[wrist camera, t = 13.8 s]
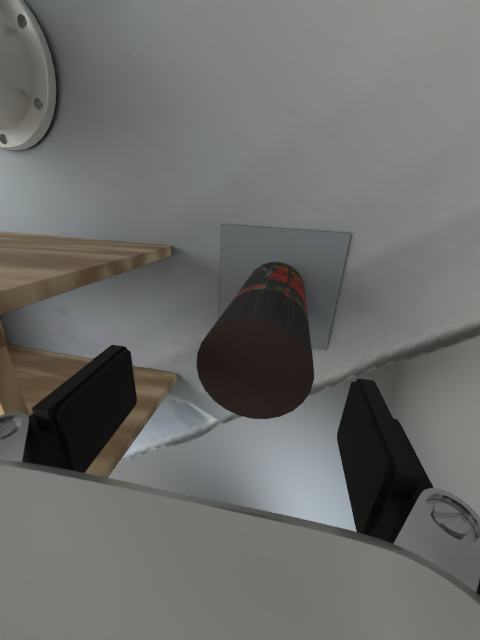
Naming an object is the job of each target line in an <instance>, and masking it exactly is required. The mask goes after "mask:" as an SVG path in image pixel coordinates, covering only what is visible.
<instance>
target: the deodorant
mask: <svg viewBox="0 0 480 640" xmlns="http://www.w3.org/2000/svg"><path fill="white" fill-rule="evenodd" d="M197 370H198V375H199V379H200V381H201V383H202V385H203V387H204V389H205V391H206V392H207V393H208V394H209V395H210V396H211V398H212V399H213V400H214V401H215V402H217V403H218V404H219V405H221V406H222V407H223V408H225V409H226V410H229V411H231V412H233V413H235V414H237V415H240V416H244V417H248V418H253V419H268V418H274V417H279V416H282V415H284V414H287V413H289V412H291V411H293V410H294V409H295V408H297V407H298V406H299V405H300V404H301V403H303V401H304V400H305V399H306V397H307V396H308V394H309V393H310V391H311V387H312V384H313V380H314V368H313V357H312V349H311V340H310V331H309V322H308V313H307V305H306V296H305V287H304V283H303V280H302V277H301V276H300V274H299V273H298V272H297V271H296V270H295V269H294V268H293V267H292V266H289V265H287V264H285V263H281V262H270V263H266V264H263V265H261V266H260V267H258V268H257V269H255V270H254V272H253V273H252V274H251V275H250V277H249V278H248V279H247V281H246V282H245V284H244V285H243V286H242V288H241V289H240V290H239V292H238V293H237V295H236V296H235V297H234V299H233V300H232V301H231V303H230V304H229V306H228V307H227V308H226V310H225V311H224V312H223V314H222V315H221V317H220V318H219V319H218V321H217V322H216V323H215V325H214V326H213V328H212V329H211V330H210V332H209V333H208V334H207V336H206V337H205V339H204V340H203V341H202V343H201V346H200V349H199V351H198V354H197Z"/></svg>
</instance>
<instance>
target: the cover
mask: <svg viewBox="0 0 480 640" xmlns="http://www.w3.org/2000/svg"><path fill="white" fill-rule="evenodd" d="M169 256H172V252H171V246H166V245H154V244H143V243H131V242H119V241H108V240H96V239H84V238H73V237H61V236H49V235H38V234H26V233H15V232H3V231H0V314H3V313H6V312H9V311H12V310H15V309H18V308H20V307H23V306H26V305H29V304H32V303H35V302H38V301H41V300H44V299H47V298H50V297H53V296H55V295H58V294H61V293H64V292H67V291H70V290H73V289H76V288H79V287H82V286H85V285H87V284H90V283H93V282H96V281H99V280H102V279H105V278H108V277H111V276H114V275H117V274H120V273H122V272H125V271H128V270H131V269H134V268H137V267H140V266H143V265H146V264H149V263H152V262H154V261H157V260H160V259H163V258H166V257H169ZM92 360H93V359H89V358H83V357H77V356H71V355H65V354H59V353H53V352H47V351H42V350H36V349H30V348H24V347H18V346H12V345H9V344H8V341H7V338H6V335H5V332H4V329H3V326H2V323H1V320H0V416H1V415H4V414H8V413H13V412H21V413H24V414H26V415H27V416H28V417H29V416H30V415H31V414H33V411H32V407H34V406H35V405H36V404H37V403H39V402H40V401H41V400H42V399H44V398H45V397H46V396H48V395H49V394H50V393H51V392H53V391H54V390H55V389H56V388H58V387H59V386H60V385H61V384H63V383H64V382H65V381H67V380H68V379H69V378H70V377H72V376H73V375H74V374H75V373H77V372H78V371H79V370H80V369H82V368H83V367H84V366H86V365H87V364H88V363H89V362H91V361H92ZM133 374H134V381H135V388H136V395H137V403H136V405H135V407H134V409H133V410H132V411H131V413H130V414H129V415H128V417H127V418H126V419H125V420H124V422H123V423H122V424H121V426H120V427H119V428H118V430H117V431H116V432H115V434H114V435H113V436H112V438H111V439H110V440H109V442H108V443H107V444H106V445H105V447H104V448H103V449H102V451H101V452H100V453H99V455H98V456H97V457H96V459H95V460H94V461H93V463H92V464H91V465H90V466H89V468H88V469H87V470H86V472H85V473H86V474H91V475H96V476H101V477H106V478H108V476H109V475H110V474H111V472H112V471H113V470H114V468H115V467H116V465H117V464H118V463H119V461H120V460H121V458H122V457H123V456H124V454H125V453H126V451H127V450H128V449H129V447H130V446H131V444H132V443H133V442H134V440H135V439H136V437H137V436H138V435H139V433H140V432H141V430H142V429H143V427H144V426H145V425H146V423H147V422H148V420H149V419H150V418H151V416H152V415H153V413H154V412H155V411H156V409H157V408H158V406H159V405H160V404H161V402H162V401H163V399H164V398H165V397H166V395H167V394H168V392H169V391H170V390H171V388H172V387H173V385H174V384H175V383H176V381H177V373H172V372H166V371H160V370H154V369H148V368H143V367H137V366H133Z"/></svg>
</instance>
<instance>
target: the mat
mask: <svg viewBox="0 0 480 640" xmlns="http://www.w3.org/2000/svg"><path fill="white" fill-rule="evenodd" d="M350 235H351V233H340V232H326V231H312V230H297V229H283V228H268V227H254V226H240V225H225V224H221V256H220V296H219V318H220V317H221V315H222V314H223V312H224V311H225V310H226V308H227V307H228V306H229V304H230V303H231V301H232V300H233V299H234V297H235V296H236V295H237V293H238V292H239V290H240V289H241V288H242V286H243V285H244V284H245V282H246V281H247V279H248V278H249V277H250V275H251V274H252V273H253V272H254V270H255V269H257V268H258V267H260V266H261V265H263V264H266V263H270V262H281V263H285V264H287V265H289V266H292V267H293V268H294V269H295V270H296V271H297V272H298V273H299V274H300V276H301V277H302V280H303V283H304V287H305V296H306V305H307V313H308V322H309V331H310V340H311V348H312V349H319V350H326V349H327V345H328V340H329V335H330V330H331V326H332V321H333V316H334V311H335V307H336V302H337V297H338V292H339V288H340V283H341V278H342V273H343V269H344V264H345V259H346V254H347V249H348V245H349V240H350Z"/></svg>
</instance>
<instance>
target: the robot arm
mask: <svg viewBox="0 0 480 640" xmlns="http://www.w3.org/2000/svg"><path fill="white" fill-rule="evenodd" d="M55 104H56V79H55V70H54V65H53V61H52V57H51V53H50V50H49V47H48V44H47V41H46V39H45V36H44V34H43V32H42V30H41V28H40V26H39V24H38V22H37V20H36V18H35V16H34V15H33V14H32V12H31V11H30V9H29V8H28V6H27V5H26V4H25V2H24V1H23V0H0V148H2V149H6V150H15V151H18V150H24V149H28V148H30V147H32V146H34V145H35V144H36V143H38V142H39V141H40V140H41V139H42V138H43V136H44V135H45V133H46V132H47V130H48V129H49V126H50V124H51V121H52V118H53V115H54V110H55ZM136 403H137V395H136V388H135V381H134V374H133V366H132V359H131V353H130V351H128V350H127V348H126V347H124V346H116V345H111V346H110V347H108V348H107V349H106V350H105V351H103V352H102V353H101V354H99V355H98V356H97V357H96V358H94V359H93V360H92V361H91V362H89V363H88V364H87V365H86V366H84V367H83V368H82V369H80V370H79V371H78V372H77V373H75V374H74V375H73V376H72V377H70V378H69V379H68V380H67V381H65V382H64V383H63V384H61V385H60V386H59V387H58V388H56V389H55V390H54V391H53V392H51V393H50V394H49V395H48V396H46V397H45V398H44V399H42V400H41V401H40V402H39V403H37V404H36V405H35V406H34V407H32V411H33V414H31V415H30V416H29V417H28V416H27V415H26V414H24V413H21V412H13V413H8V414H4V415H1V416H0V640H480V517H479V516H478V514H477V513H476V512H475V511H474V510H473V509H472V508H471V507H470V506H469V505H468V504H466V503H465V502H464V501H462V500H461V499H460V498H458V497H457V496H455V495H453V494H451V493H450V492H447V491H444V490H441V489H436V488H433V486H432V484H431V482H430V480H429V478H428V476H427V474H426V472H425V471H424V468H423V467H422V465H421V463H420V461H419V459H418V457H417V455H416V453H415V451H414V449H413V447H412V445H411V443H410V441H409V439H408V438H407V436H406V434H405V432H404V430H403V428H402V426H401V424H400V423H399V421H398V420H396V419H393V417H392V415H391V413H390V411H389V409H388V407H387V405H386V403H385V401H384V399H383V397H382V395H381V393H380V391H379V389H378V387H377V385H376V383H375V382H374V381H372V380H365V379H357V381H356V382H352V383H351V386H350V389H349V393H348V397H347V400H346V404H345V407H344V411H343V414H342V418H341V422H340V425H339V429H338V433H337V440H338V446H339V450H340V455H341V460H342V465H343V470H344V474H345V479H346V483H347V488H348V493H349V498H350V502H351V507H352V512H353V517H354V522H355V526H356V530H357V532H354V531H351V530H346V529H342V528H338V527H333V526H330V525H325V524H321V523H317V522H313V521H308V520H304V519H300V518H295V517H291V516H286V515H282V514H277V513H272V512H268V511H262V510H258V509H254V508H249V507H244V506H240V505H235V504H230V503H226V502H221V501H216V500H212V499H207V498H202V497H197V496H193V495H188V494H183V493H178V492H173V491H169V490H164V489H159V488H154V487H150V486H145V485H140V484H135V483H130V482H125V481H120V480H115V479H111V478H106V477H101V476H96V475H91V474H86V473H85V472H86V470H87V469H88V468H89V466H90V465H91V464H92V463H93V461H94V460H95V459H96V457H97V456H98V455H99V453H100V452H101V451H102V449H103V448H104V447H105V445H106V444H107V443H108V442H109V440H110V439H111V438H112V436H113V435H114V434H115V432H116V431H117V430H118V428H119V427H120V426H121V424H122V423H123V422H124V420H125V419H126V418H127V417H128V415H129V414H130V413H131V411H132V410H133V409H134V407H135V405H136Z"/></svg>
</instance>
